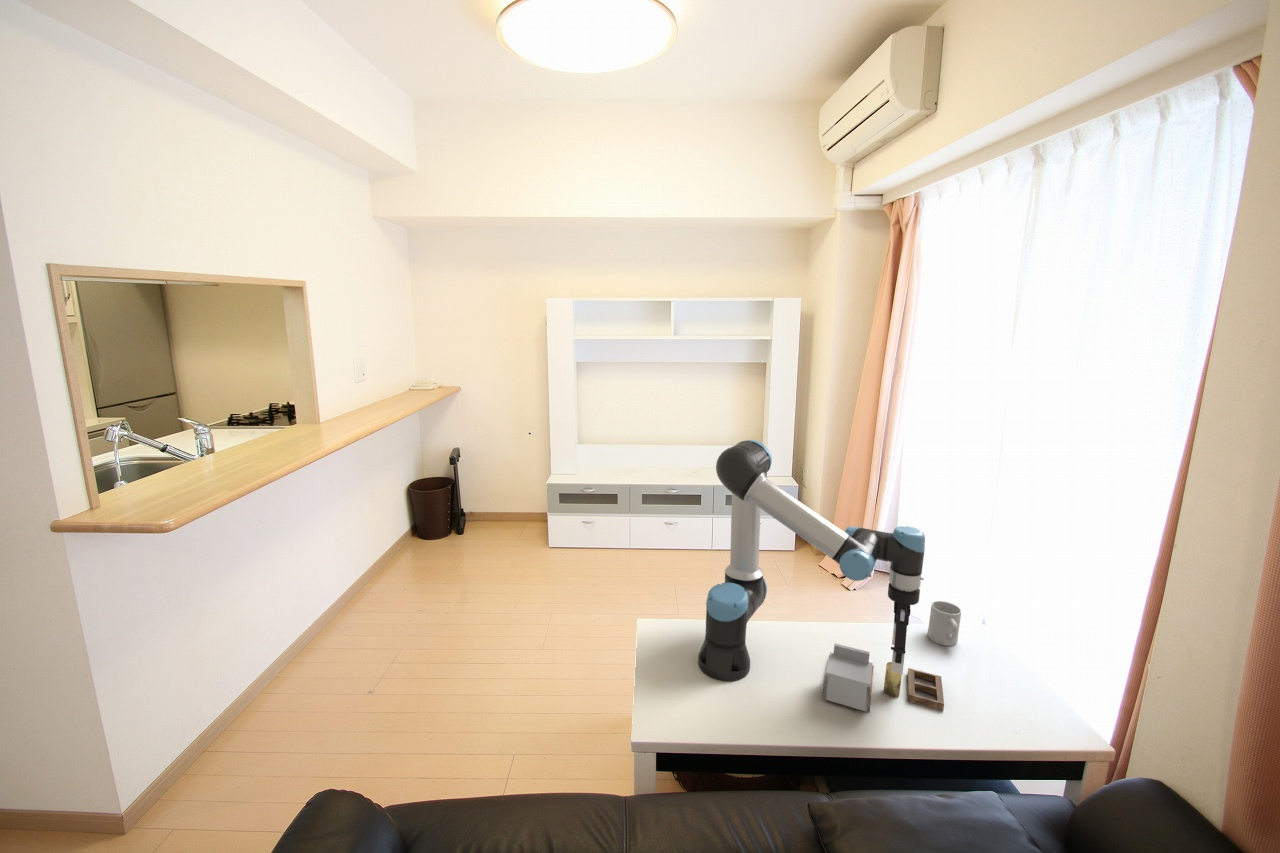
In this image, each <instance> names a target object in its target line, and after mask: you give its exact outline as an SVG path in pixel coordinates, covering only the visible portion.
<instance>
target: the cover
mask: <svg viewBox="0 0 1280 853" xmlns="http://www.w3.org/2000/svg"><path fill="white" fill-rule="evenodd" d="M869 661H870V651H866V650H863V649H860V648H855V647H852V646H847V645H843V644H839V643H834V645H833V652H829V655H828V660H827V665H826V668H825V669H826V670H825V673H824V674H825V675H824V684H823V688H824V695H823V698H822V699H823V700H824V701H825V700H826V701H830V702H832V703H835V704H839V705H843V706H846V707H848V708H849V707H850V708H853V709H856V710H860V711H863V712H866V713H868V704H869V696H870V687H871V676H872V665H873V664H874V663H873V662H871V661H870V662H869Z"/></svg>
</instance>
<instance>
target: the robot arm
mask: <svg viewBox="0 0 1280 853" xmlns="http://www.w3.org/2000/svg"><path fill="white" fill-rule="evenodd" d="M772 462H773V458H772V454H771V451H770V449H769V447H767V446H766V445H765V444H764V443H762V442H761V441H758V440H754V439H747V440H742V441H740V442H737V443H736V444H735V445H732V446H731V447H728V448H726V449H725V450H723V451H722V452H721V453H720V454H719V456H718V458H717V461H716V464H715V470H716V471H715V472H716V475H717V478H718V479H719V481H720V483H721V484H722V485H723V486H724V487H725V488H726V489H727V490H728V491H729V492H730V493H731V513H730V514H731V518H730V519H731V520H730V522H731V523H730V554H729V555H730V557H729V558H730V560H729V562H730V563H729V565H727V566H726V567H725V569H724V582H722V583H718V584H715V585H714V586H712V587H711V588H710V589H709V591H708V593H707V598H706V601H705V604H706V605H705V606H706V608H705V609H706V612H705V635H704V640H703V643H702V644H701V647H700V649H699V652H698V656H697V657H698V661H697V664H698V667H699V669H700V671H701V672H703V673H704V674H705V675H706V676H708V677H710V678H712V679H715V680H719V681H725V682H733V681H738V680H741V679H743V678H745V677H747V675H748V674H749V672H750V669H751V658H750V655H749V651H748V647H747V644H746V640H747V639H746V638H747V637H746V636H747V625H748V622H749V621H750V619H751V618H752V617H753V616H754V614H755V613H756V611H757V610H758V609H759V608H760V607H761V606H762V605H763V604H764V601H765V599H766V597H767V592H768V585H767V582H766V580H765V578H764V570H763V569H762V568H761V567H760V565H759V559H760V534H761V533H760V529H761V510H762V511H763V512H765V513H767V514H768V515H769V516H770V517H772V518H773V519H775V520H776V521H777V522H779V523H781V524H782V525H783V526H785V527H786V528H787V529H789V530H790V531H792V532H793V533H795V534H796V535H798V537H800V538H801V539H803V540H804V541H806V542H808V543H809V544H811V545H812V546H813V547H814V548H816V549H817V550H819V551H820V552H821V553H823V555H826V556H827V557H829V558H830V559H832V560H833V561H834V562H836V563H837V564H838V565H839V566H838V567H839V570H840V571H841V572H842V574H843V576H844V577H846V579H849V580H851V581H855V582H860V581H861V582H862V581H864V580H866V579H867V578H869V576H871V574H872V572H873V571H874V569H875V568H876V562H877V560H878V561H883V562H890V566H889V576H888V582H889V583H888V589H887V596H888V598H889V600H891V601H892V602H893V613H894V618H893V629H892V640H891V645H892V646H890V650H891V651H892V658H891V659H892V660H891V662H892V666H891V672H895V673H899V674H902V675H903V673H904V664H905V654H906V645H907V644H906V643H907V630H908V626H909V622H910V616H911V611H912V610H911V606H916V605H917V604H918V603H919V601H920V593H921V590H920V588H921V583H922V581H924V580H925V578H924V576H923V575H922V573H923V565H924V556H925V552H926V551H925V550H926V548H925V547H926V546H925V545H926V536H925V533H924V532H923V531H921V530H920V529H918V528H916V527H912V526H908V525H907V526H904V525H903V526H901V525H900V526H896V527H895V528H894V530H893V532H885V531H880V530H874V529H870V528H864V527H862V526H851V525H850V526H848V527H847V528H846V529H845V530H842V529H841V528H839V527H838V526H837V525H835V524H833V523H832V522H830V521H829V520H828V519H826V518H825V517H823V516H822V515H820V514H819V513H817V512H816V511H814V510H813V509H812V508H810V507H808V506H807V505H806V504H805V503H804V502H801V501H800V500H799V499H797V498H796V497H794V496H793V495H791V494H790V493H788V492H787V491H785V490H784V489H782V488H781V487H779V485H777V484H775V483H773V482H772V481H771V480H769V479H768V476H767V475H768V472H769V471H770V469H771V466H772Z"/></svg>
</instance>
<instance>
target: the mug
mask: <svg viewBox="0 0 1280 853" xmlns="http://www.w3.org/2000/svg"><path fill="white" fill-rule="evenodd" d="M961 617H962V609H961V608H960V607H958V605H956V604H954V603H950V602H948V601H943V600H937V601H932V603H931V607H930V614H929V620H928V628H927V636H928V638H929V640H931V641H932V642H934V643H935V644H939V645H940V646H945V647H946V646H947V647H953V646H955V645H957V643H958V638H959V630H960V624H961Z"/></svg>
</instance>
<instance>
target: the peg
mask: <svg viewBox="0 0 1280 853" xmlns="http://www.w3.org/2000/svg"><path fill="white" fill-rule="evenodd" d="M891 666H892V661H889V662H887V663H886V665H885V675H884V684H883V690H882V691H883V693H884V694H885V695H886V696H888V697H890V698H894V699H895V698H898V697H900V692H901V684H902V677H903V676H902V675H903V674H899V673H895V672H891Z"/></svg>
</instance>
